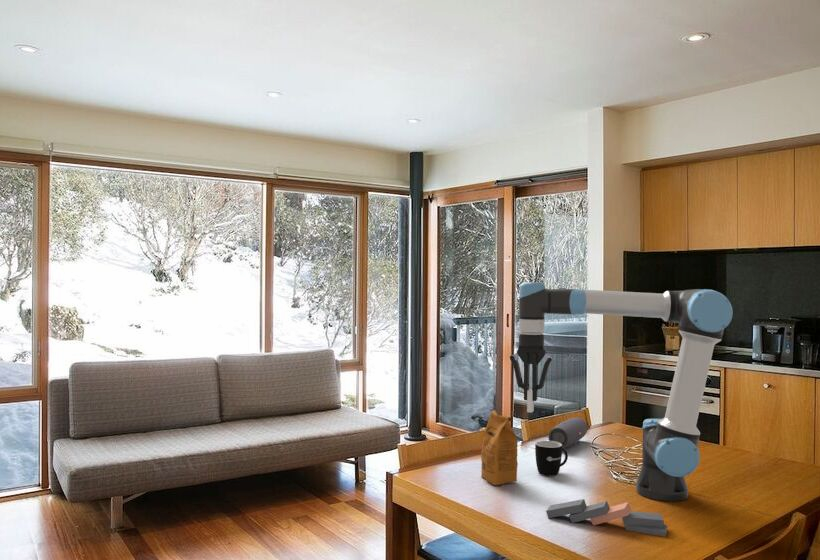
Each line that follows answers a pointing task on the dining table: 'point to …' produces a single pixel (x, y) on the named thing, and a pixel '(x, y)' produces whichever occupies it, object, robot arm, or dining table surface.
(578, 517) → the domino
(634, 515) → the domino
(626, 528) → the domino
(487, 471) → the coffee package
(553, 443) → the mug
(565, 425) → the bluetooth speaker
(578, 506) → the domino
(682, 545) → the dining table surface
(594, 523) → the domino
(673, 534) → the dining table surface
